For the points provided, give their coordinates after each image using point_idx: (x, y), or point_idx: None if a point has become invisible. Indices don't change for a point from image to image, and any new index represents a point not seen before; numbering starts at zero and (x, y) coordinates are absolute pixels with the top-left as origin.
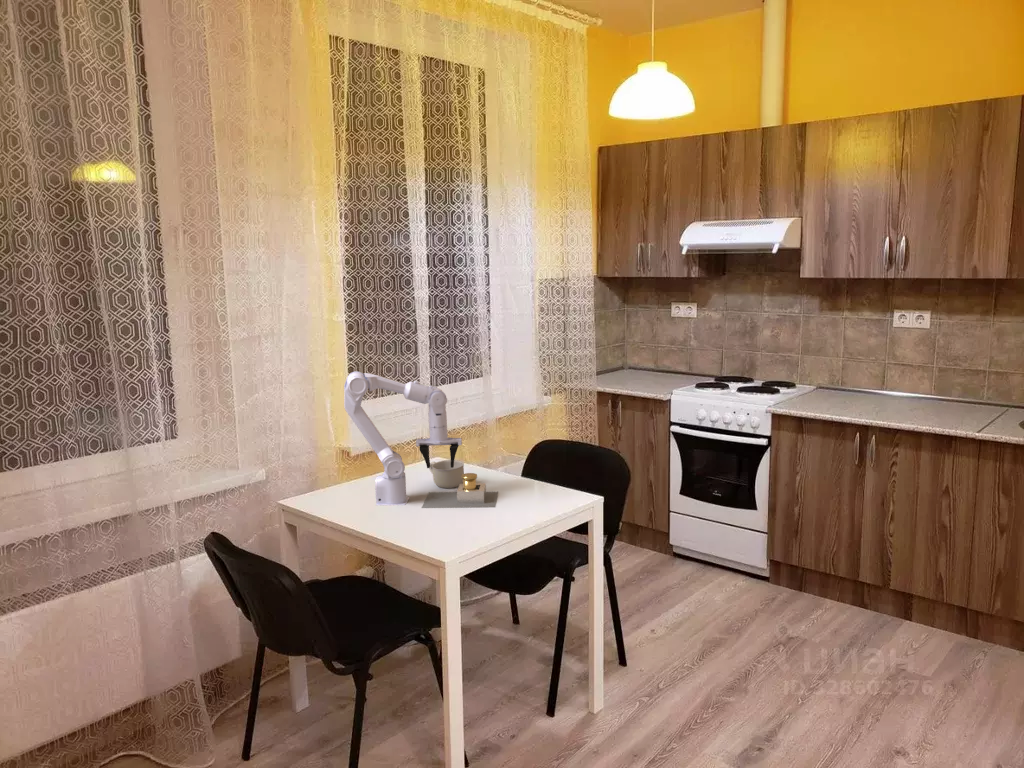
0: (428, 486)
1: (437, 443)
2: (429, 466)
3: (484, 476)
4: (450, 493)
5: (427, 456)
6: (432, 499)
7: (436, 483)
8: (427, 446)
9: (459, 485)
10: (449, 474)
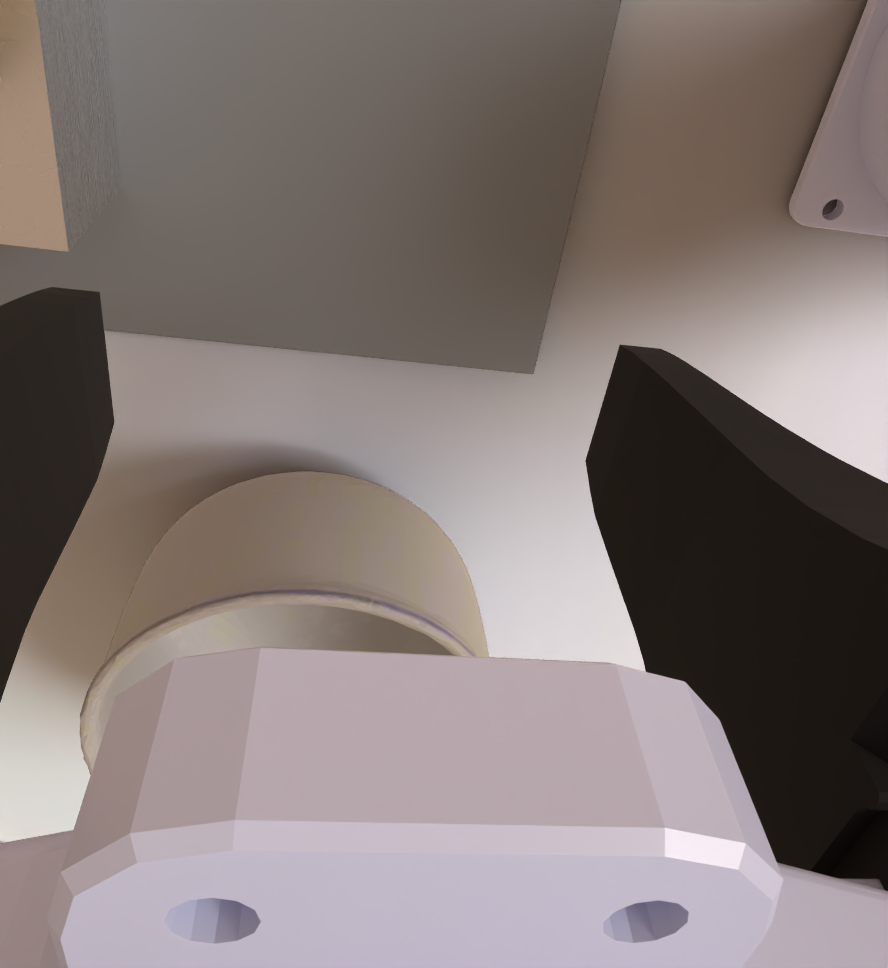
0: (521, 577)
1: (416, 713)
2: (610, 407)
3: (18, 751)
4: (268, 292)
5: (758, 478)
6: (503, 62)
7: (444, 533)
8: (835, 844)
9: (46, 140)
10: (266, 553)
